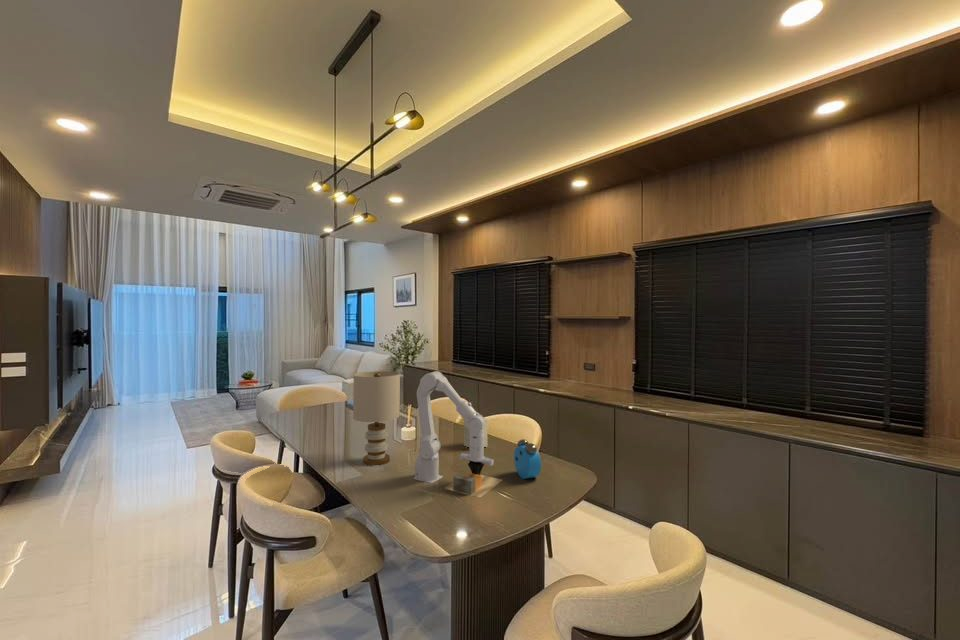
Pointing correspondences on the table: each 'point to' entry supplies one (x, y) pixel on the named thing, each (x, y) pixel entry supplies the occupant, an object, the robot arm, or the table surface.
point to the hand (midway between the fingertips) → (476, 480)
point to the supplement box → (467, 434)
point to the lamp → (376, 409)
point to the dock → (483, 488)
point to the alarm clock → (527, 460)
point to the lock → (476, 479)
